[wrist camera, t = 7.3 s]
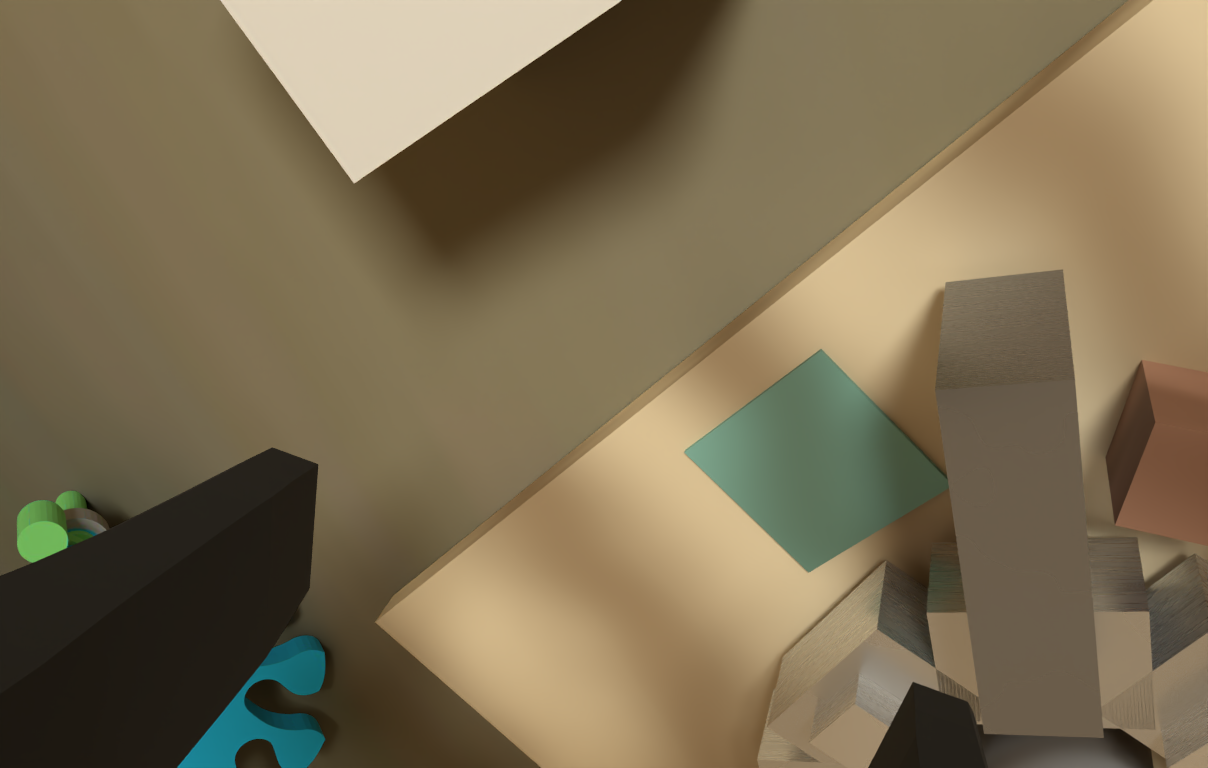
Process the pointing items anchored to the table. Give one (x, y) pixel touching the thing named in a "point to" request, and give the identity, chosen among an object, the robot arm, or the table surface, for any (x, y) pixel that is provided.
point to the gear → (242, 720)
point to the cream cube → (398, 61)
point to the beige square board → (854, 433)
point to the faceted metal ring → (1006, 575)
